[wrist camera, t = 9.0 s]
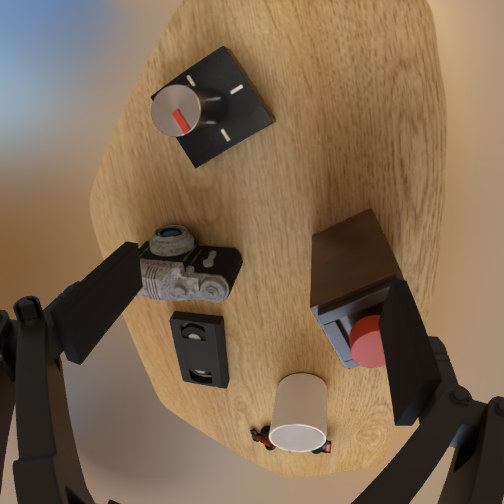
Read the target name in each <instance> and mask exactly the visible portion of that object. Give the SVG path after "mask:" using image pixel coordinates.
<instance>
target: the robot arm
mask: <svg viewBox="0 0 504 504" xmlns="http://www.w3.org/2000/svg"><path fill="white" fill-rule="evenodd" d="M142 288H143V283H142V275H141V266H140V257H139V248H138V243H132V242H125V243H124V244H123V245H121V246H120V247H119V248H118V249H117V250H116V251H114V252H113V253H112V254H111V255H110V256H109V257H108V258H106V259H105V260H104V261H103V262H102V263H101V264H100V265H99V266H97V267H96V268H95V269H94V270H93V271H92V272H91V273H90V274H88V275H87V276H86V277H85V278H84V279H83V280H82V281H81V282H79V281H78V282H76V283H74V284H72V285H70V286H68V287H67V288H66V289H65V290H64V291H63V293H61V294H60V295H59V296H58V298H56V299H54V301H52V302H51V303H50V304H49V305H48V306H47V307H46V308H45V309H44V310H42V307H41V304H40V301H39V299H38V298H37V297H35V296H26V297H23V298H21V299H19V300H18V301H17V302H16V303H15V304H14V306H13V309H14V312H15V314H16V317H17V320H10V318H9V316H8V313H7V312H6V311H5V310H0V355H1V357H0V493H1V486H2V477H3V468H4V460H5V454H6V447H7V441H8V435H9V430H10V424H11V420H12V415H13V410H14V406H15V402H16V426H17V440H18V451H19V459H18V460H16V461H14V462H13V475H14V482H15V489H16V495H17V501H18V504H95V502H94V500H93V498H92V497H91V495H90V493H89V491H88V489H87V486H86V484H85V480H84V477H83V473H82V469H81V465H80V462H79V458H78V453H77V449H76V445H75V440H74V436H73V432H72V426H71V421H70V416H69V410H68V404H67V398H66V391H65V384H64V377H63V369H62V361H61V358H60V354H61V353H62V352H63V351H64V352H65V355H66V357H67V359H68V360H69V361H71V362H74V363H76V364H79V365H81V364H82V363H83V361H84V360H85V359H86V357H87V356H88V355H89V353H90V352H91V351H92V349H93V348H94V347H95V346H96V345H97V343H98V342H99V341H100V339H101V338H102V337H103V335H104V334H105V333H106V332H107V331H108V329H109V328H110V327H111V326H112V324H113V323H114V322H115V320H116V319H117V318H118V317H119V316H120V314H121V313H122V312H123V311H124V309H125V308H126V307H127V306H128V305H129V303H130V302H131V301H132V300H133V298H134V297H135V296H136V295H137V294H138V292H139V291H140V290H141V289H142ZM378 325H379V330H380V335H381V340H382V346H383V351H384V356H385V362H386V368H387V374H388V380H389V386H390V392H391V399H392V406H393V414H394V421H395V425H396V426H404V425H405V426H412V425H413V424H414V422H415V421H416V419H417V418H419V423H420V425H419V427H418V428H417V429H416V431H415V432H414V433H413V435H412V436H411V437H410V439H409V440H408V441H407V442H406V443H405V445H404V446H403V447H402V448H401V450H400V451H399V452H398V453H397V454H396V456H395V457H394V458H393V459H392V460H391V462H390V463H389V464H388V465H387V466H386V467H385V468H384V470H383V471H382V472H381V473H380V474H379V475H378V476H377V477H376V478H375V479H374V480H373V482H372V483H371V484H370V485H369V486H368V487H367V488H366V489H365V490H364V491H363V492H362V493H361V494H360V495H359V496H358V497H357V498H356V499H355V500H354V501H353V502H352V503H351V504H409V503H410V501H411V500H412V499H413V498H414V496H415V495H416V494H417V492H418V491H419V490H420V488H421V487H422V486H423V484H424V483H425V481H426V480H427V478H428V477H429V476H430V474H431V473H432V471H433V470H434V468H435V467H436V466H437V464H438V463H439V461H440V459H441V458H442V456H443V455H444V453H445V452H446V450H447V448H448V447H449V446H450V447H454V448H455V451H454V455H453V458H452V462H451V465H450V468H449V472H448V475H447V478H446V481H445V484H444V486H443V489H442V492H441V495H440V498H439V501H438V504H502V500H503V496H504V398H503V397H500V396H497V397H493V398H492V399H491V400H490V401H489V403H488V404H486V403H482V402H479V401H475V400H473V399H472V396H471V394H470V393H469V391H468V390H467V389H465V388H464V387H462V386H460V385H458V382H457V379H456V376H455V373H454V370H453V367H452V364H451V362H450V359H449V356H448V355H447V351H446V348H445V346H444V344H443V343H442V342H441V341H440V339H439V338H438V337H432V336H428V335H427V333H426V330H425V327H424V324H423V322H422V319H421V316H420V314H419V311H418V309H417V306H416V303H415V301H414V298H413V296H412V294H411V291H410V289H409V286H408V284H407V281H405V280H398V279H392V281H391V285H390V288H389V291H388V294H387V297H386V301H385V304H384V307H383V310H382V313H381V316H380V319H379V321H378ZM108 504H119V503H117V502H115V501H112V500H109V502H108Z"/></svg>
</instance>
